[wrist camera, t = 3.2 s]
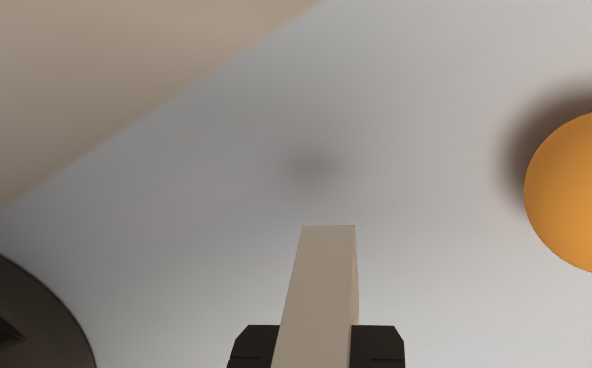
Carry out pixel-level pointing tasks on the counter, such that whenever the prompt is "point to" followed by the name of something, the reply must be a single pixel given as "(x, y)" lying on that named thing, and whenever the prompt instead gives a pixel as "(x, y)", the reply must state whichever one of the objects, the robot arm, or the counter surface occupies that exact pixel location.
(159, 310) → the counter surface
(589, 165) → the ball
